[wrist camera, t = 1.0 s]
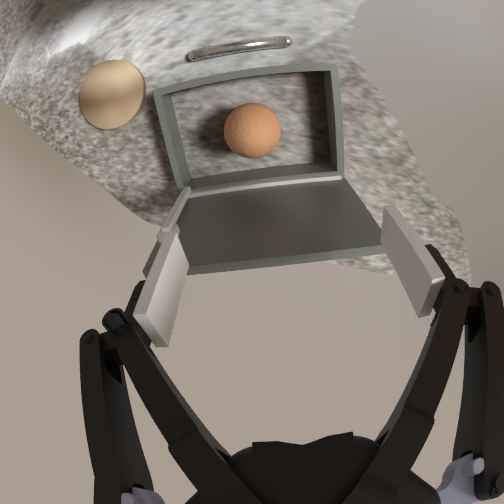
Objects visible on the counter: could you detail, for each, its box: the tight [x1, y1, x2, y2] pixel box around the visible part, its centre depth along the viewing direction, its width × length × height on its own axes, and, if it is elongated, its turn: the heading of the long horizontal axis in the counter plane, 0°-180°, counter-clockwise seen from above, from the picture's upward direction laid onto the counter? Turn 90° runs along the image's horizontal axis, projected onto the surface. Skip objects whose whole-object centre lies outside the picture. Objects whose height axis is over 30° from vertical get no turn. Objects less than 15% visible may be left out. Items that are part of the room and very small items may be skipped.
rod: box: [188, 36, 293, 61], centre depth 23 cm, size 1×11×1 cm, turn 98°
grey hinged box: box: [143, 63, 386, 279], centre depth 23 cm, size 14×19×17 cm
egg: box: [224, 103, 281, 158], centre depth 26 cm, size 6×6×8 cm
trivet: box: [79, 60, 146, 129], centre depth 26 cm, size 9×9×1 cm
